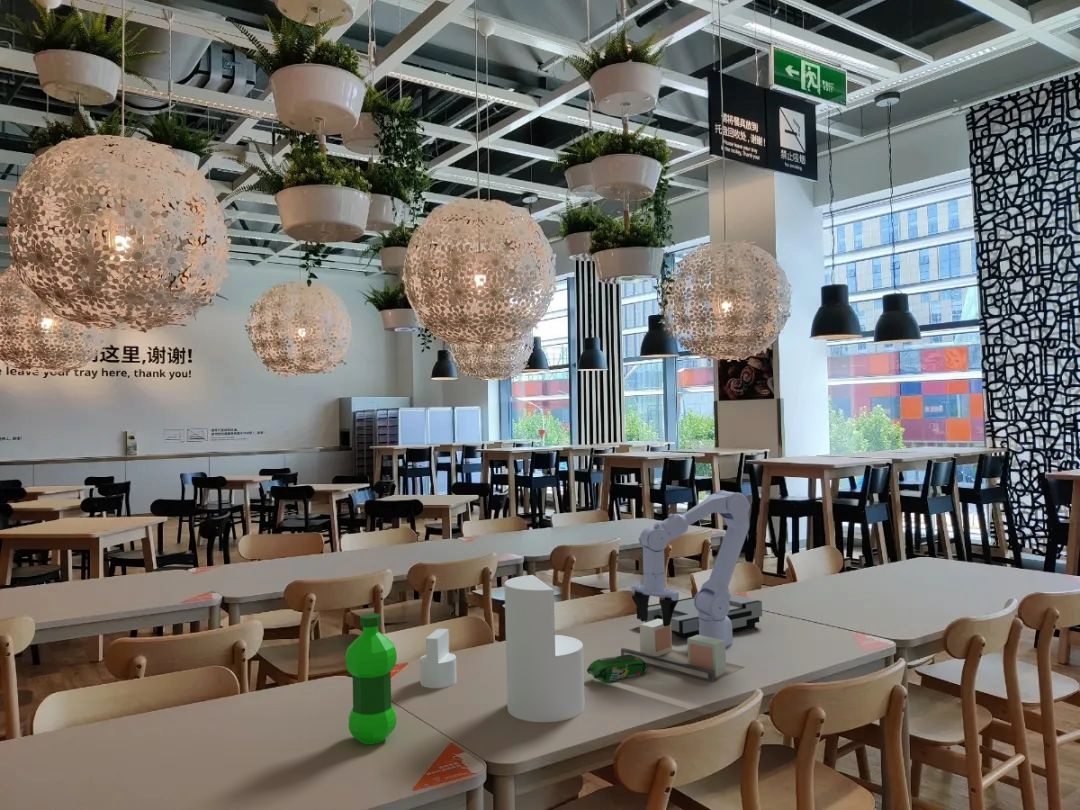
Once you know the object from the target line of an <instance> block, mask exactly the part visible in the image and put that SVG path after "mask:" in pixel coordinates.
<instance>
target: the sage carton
mask: <svg viewBox="0 0 1080 810" xmlns="http://www.w3.org/2000/svg"><path fill="white" fill-rule="evenodd" d="M686 641H687V643H686V644H687V653H688V664H690V665H694V666H698V667H702V668H706V669H710V670H714V677H715V678H716V677H719V676H721V675H723V674H725V673H726V663H727V661H726V660H727V658H726V657H727V655H726V648H725V640H721V639H716V638H711V637H706V636H702V635H695V636H693V637H690V638H687V640H686Z"/></svg>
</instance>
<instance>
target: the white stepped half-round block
mask: <svg viewBox="0 0 1080 810" xmlns="http://www.w3.org/2000/svg"><path fill="white" fill-rule="evenodd" d="M449 630H450V629H449V628H436V629H435V630H434V631H433V632H432V633H431V634H429V635H427V636H426V638H425V648H426V649H425V654H424V655H422V656H420V658H419V679H420V681H419V682H420V683H419V684H421V685H422V686H421V685H420V686H421V687H423V686H424V688H426V687H427V688H426V689H444V688H448V687H452V686H454V685H455V684H457V677H458V676H457V656H456V655H455V654H454V653H451V652H450V632H449Z"/></svg>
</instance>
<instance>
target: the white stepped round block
mask: <svg viewBox="0 0 1080 810" xmlns="http://www.w3.org/2000/svg"><path fill="white" fill-rule="evenodd" d="M504 617H505V659H506V663H505V664H506V698H507V699H506V701H507V704H506V705H507V712H508V713H509V714H510V715H511V716H512V717H514V718H515V719H518V720H521V721H525V722H533V723H555V722H563V721H567V720H570V719H573V718H575V717H577V716H580V715H581V714H582V713H583V712H584V710H585V679H584V676H585V675H584V674H585V673H584V672H585V671H584V644H583V642H582V641H581V640H579V639H578V638H575V637H572V636H567V635H561V634H556V630H555V629H556V627H555V626H556V625H555V590H554V589H553V588H552V587H551V586H549V585H548V584H547V583H545V582H544V581H543V580H541V579H540V578H538V577H537V576H535V575H534V574H529V575H521V576H520V575H519V576H516V577H512V578H509V579H507V580H506V581H504Z"/></svg>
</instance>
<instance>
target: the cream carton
mask: <svg viewBox="0 0 1080 810" xmlns="http://www.w3.org/2000/svg"><path fill="white" fill-rule="evenodd" d="M672 638H673V637H672V630H671V623H670V625H669V626H664V625H663V620H662V619H655V620H652V621H649V622H646V623H645V622H643V623H639V644H640V645H639V646H640V651H639V652H642V653H646V654H650V655H654V656H660V655H663V654H665V653H668V652H671V651H672V650H673V644H672V643H673V641H672Z"/></svg>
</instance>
